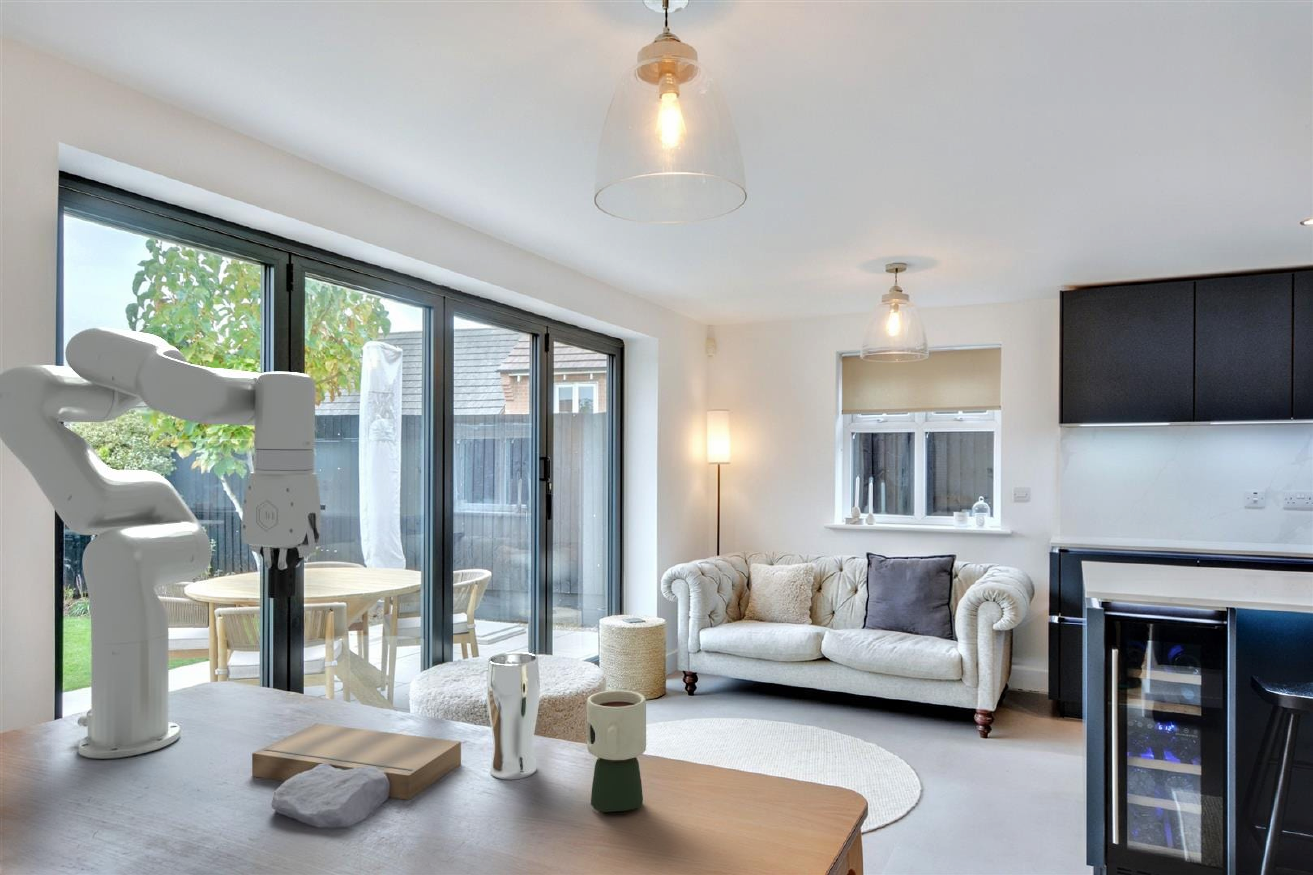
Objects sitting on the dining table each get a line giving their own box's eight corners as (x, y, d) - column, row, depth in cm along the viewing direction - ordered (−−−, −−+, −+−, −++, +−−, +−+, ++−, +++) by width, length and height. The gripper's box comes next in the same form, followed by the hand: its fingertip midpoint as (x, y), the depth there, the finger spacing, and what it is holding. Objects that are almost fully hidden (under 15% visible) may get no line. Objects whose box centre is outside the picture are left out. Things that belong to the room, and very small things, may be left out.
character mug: (593, 787, 105) (593, 684, 105) (649, 788, 105) (649, 685, 105) (580, 827, 94) (580, 712, 94) (643, 828, 94) (642, 713, 94)
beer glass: (548, 764, 112) (548, 653, 113) (524, 784, 106) (524, 667, 106) (503, 757, 115) (503, 649, 115) (476, 777, 108) (476, 662, 108)
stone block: (348, 848, 93) (397, 794, 103) (341, 810, 93) (391, 759, 102) (261, 839, 97) (316, 787, 106) (253, 802, 96) (310, 753, 105)
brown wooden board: (252, 775, 109) (252, 752, 109) (316, 744, 120) (316, 722, 120) (408, 799, 101) (408, 774, 101) (460, 763, 113) (460, 740, 113)
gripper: (220, 461, 112) (217, 596, 112) (306, 465, 107) (303, 607, 107) (264, 460, 119) (262, 587, 119) (347, 463, 114) (344, 597, 114)
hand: (281, 596), depth 113 cm, fingers closed
